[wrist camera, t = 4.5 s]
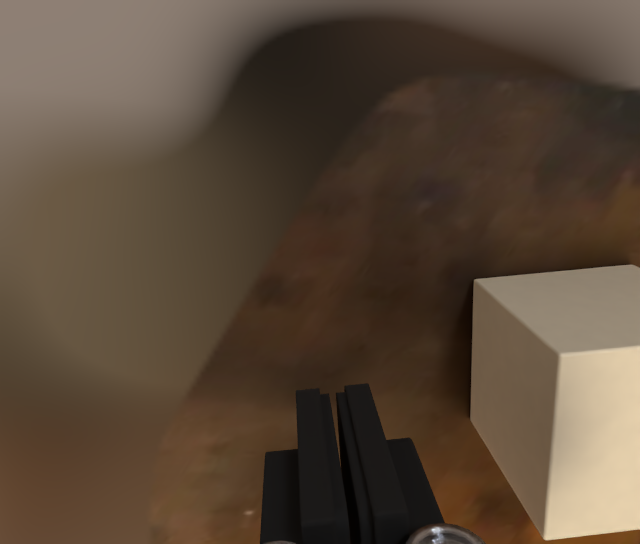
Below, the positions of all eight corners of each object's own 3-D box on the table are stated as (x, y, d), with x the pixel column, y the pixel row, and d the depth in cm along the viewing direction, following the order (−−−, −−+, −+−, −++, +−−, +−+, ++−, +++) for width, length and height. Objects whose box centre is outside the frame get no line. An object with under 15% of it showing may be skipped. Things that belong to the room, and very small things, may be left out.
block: (469, 419, 15) (543, 542, 11) (472, 278, 14) (559, 354, 9) (614, 404, 15) (743, 518, 11) (632, 263, 14) (787, 331, 10)
